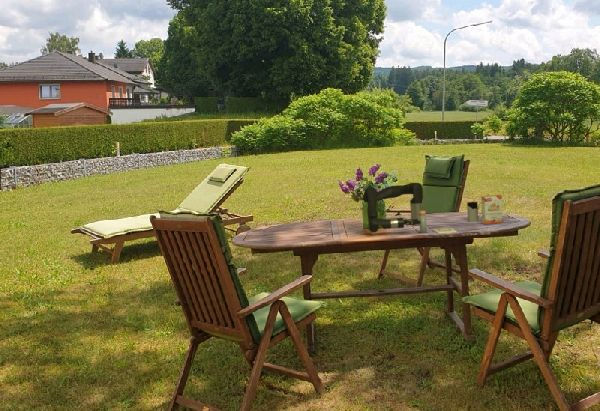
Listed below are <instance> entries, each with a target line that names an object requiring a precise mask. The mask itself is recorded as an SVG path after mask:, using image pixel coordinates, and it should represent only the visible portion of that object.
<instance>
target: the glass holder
mask: <svg viewBox="0 0 600 411" xmlns="http://www.w3.org/2000/svg"><path fill="white" fill-rule="evenodd" d="M466 205H467V210H466V212H467V221H466V222H467V223H479V222H480V220H479V218H480V216H482V212H481V213H480V214H479V209H480V207H479V206H481V202H480V203H479V204H478V202H477V201H469V202H467V204H466Z"/></svg>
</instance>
